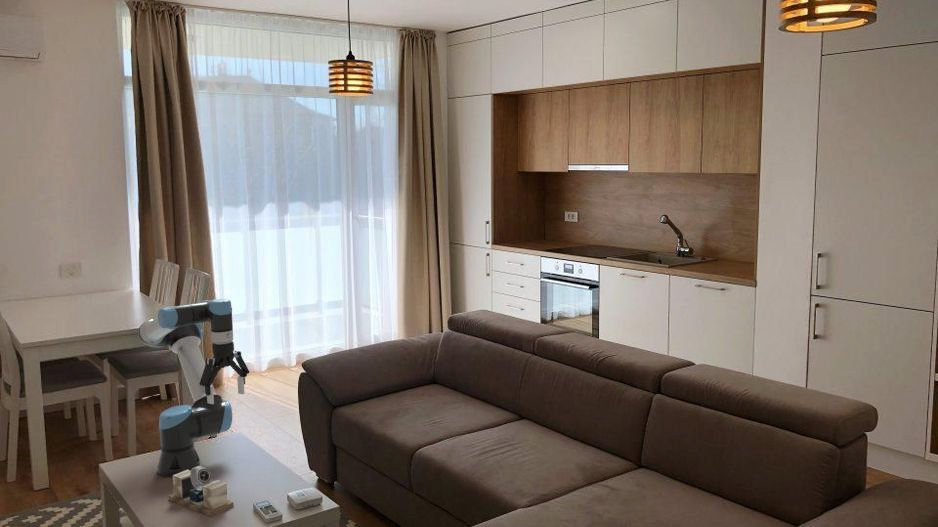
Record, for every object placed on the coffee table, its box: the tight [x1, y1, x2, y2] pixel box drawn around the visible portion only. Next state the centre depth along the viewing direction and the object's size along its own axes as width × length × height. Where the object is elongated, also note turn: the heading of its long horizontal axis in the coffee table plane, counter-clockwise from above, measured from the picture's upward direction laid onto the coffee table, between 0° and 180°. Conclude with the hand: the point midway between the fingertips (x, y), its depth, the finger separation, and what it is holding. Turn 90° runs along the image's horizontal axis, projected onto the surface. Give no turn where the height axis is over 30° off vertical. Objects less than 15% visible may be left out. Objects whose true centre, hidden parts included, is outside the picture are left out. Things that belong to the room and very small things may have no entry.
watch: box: [189, 465, 212, 503], centre depth 264 cm, size 6×8×11 cm
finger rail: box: [168, 470, 235, 517], centre depth 264 cm, size 23×9×8 cm, turn 55°
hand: (226, 398), depth 285 cm, fingers open, 13 cm apart
